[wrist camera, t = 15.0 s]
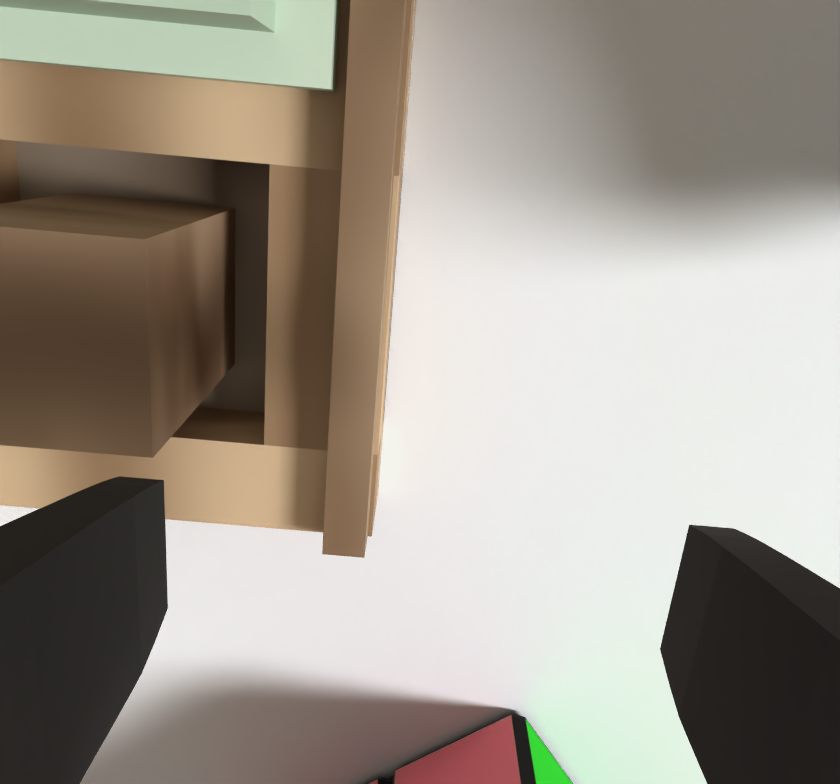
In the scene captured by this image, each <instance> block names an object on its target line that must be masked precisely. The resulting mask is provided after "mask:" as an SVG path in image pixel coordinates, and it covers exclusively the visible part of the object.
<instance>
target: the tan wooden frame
mask: <svg viewBox="0 0 840 784" xmlns="http://www.w3.org/2000/svg"><path fill="white" fill-rule="evenodd" d="M415 5H416V0H340V13H339V35H338V56H337V77H336V92H332V91H321V90H311V89H300V88H289V87H279V86H268V85H257V84H247V83H236V82H225V81H215V80H204V79H194V78H183V77H172V76H162V75H151V74H140V73H130V72H119V71H108V70H98V69H87V68H77V67H66V66H55V65H45V64H34V63H23V62H13V61H2V60H0V204H3V203H9V202H16V201H23V200H30V199H36V198H43V197H50V196H57V195H63V194H70V193H73V194H85V195H96V196H107V197H118V198H130V199H141V200H152V201H163V202H175V203H186V204H197V205H208V206H220V207H231V208H235V364H234V366H233V367H232V368H231V369H230V370H229V371H228V372H227V374H226V375H225V376H224V377H223V378H222V379H221V380H220V382H219V383H218V384H217V385H216V386H215V387H214V388H213V390H212V391H211V392H210V393H209V394H208V395H207V396H206V398H205V399H204V400H203V401H202V402H201V403H200V404H199V406H198V407H197V408H196V409H195V410H194V411H193V412H192V414H191V415H190V416H189V417H188V418H187V419H186V420H185V422H184V423H183V424H182V425H181V426H180V427H179V428H178V430H177V431H176V432H175V433H174V434H173V435H172V437H171V438H170V439H169V440H168V441H167V442H166V443H165V445H164V446H163V447H162V448H161V449H160V450H159V451H158V453H157V454H156V455H155V456H154V457H153V458H148V457H136V456H124V455H112V454H100V453H88V452H76V451H64V450H52V449H40V448H28V447H16V446H4V445H0V505H5V506H17V507H28V508H42V507H45V506H47V505H49V504H51V503H54V502H56V501H58V500H60V499H62V498H65V497H67V496H69V495H71V494H74V493H76V492H78V491H81V490H83V489H85V488H88V487H90V486H93V485H95V484H98V483H100V482H103V481H106V480H109V479H112V478H115V477H118V476H122V477H133V478H145V479H157V480H164V501H165V519H171V520H183V521H194V522H206V523H218V524H230V525H242V526H254V527H266V528H277V529H289V530H301V531H313V532H323V552H322V554H328V555H340V556H352V557H364V555H365V549H366V543H367V536H372V530H373V523H374V516H375V510H376V503H377V496H378V486H379V473H380V460H381V447H382V434H383V421H384V408H385V395H386V382H387V369H388V356H389V343H390V330H391V317H392V304H393V291H394V278H395V265H396V252H397V239H398V226H399V213H400V200H401V187H402V174H403V161H404V148H405V135H406V122H407V109H408V96H409V83H410V70H411V57H412V44H413V31H414V18H415Z"/></svg>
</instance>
